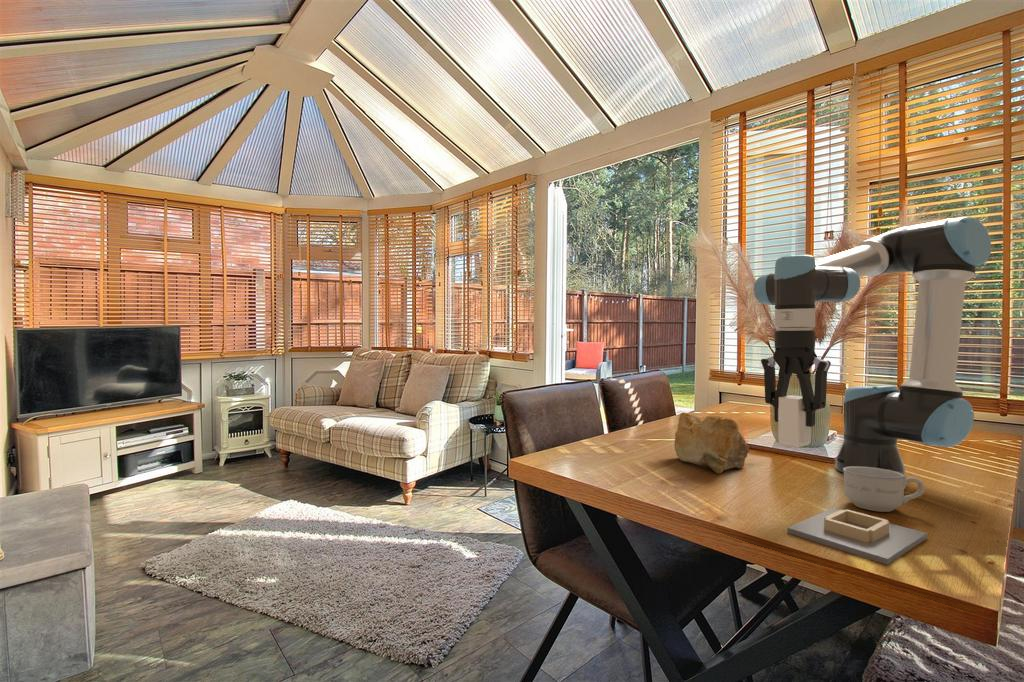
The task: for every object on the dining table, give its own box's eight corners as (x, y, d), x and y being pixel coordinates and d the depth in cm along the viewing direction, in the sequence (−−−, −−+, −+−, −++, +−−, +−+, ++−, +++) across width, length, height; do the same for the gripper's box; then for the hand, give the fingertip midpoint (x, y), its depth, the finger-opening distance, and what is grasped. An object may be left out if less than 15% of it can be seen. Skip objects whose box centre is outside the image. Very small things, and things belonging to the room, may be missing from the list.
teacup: (836, 507, 110) (837, 470, 110) (849, 495, 117) (849, 461, 117) (919, 525, 100) (919, 484, 100) (927, 511, 108) (927, 473, 107)
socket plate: (831, 512, 107) (832, 498, 106) (927, 538, 93) (927, 522, 93) (787, 532, 96) (787, 517, 96) (887, 564, 83) (887, 546, 83)
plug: (790, 440, 112) (790, 395, 112) (809, 444, 109) (809, 397, 108) (778, 444, 109) (778, 397, 109) (797, 447, 106) (798, 399, 106)
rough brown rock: (772, 479, 133) (775, 421, 133) (715, 478, 129) (719, 419, 130) (717, 460, 156) (720, 410, 156) (668, 458, 152) (671, 408, 152)
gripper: (746, 329, 113) (746, 435, 114) (829, 329, 99) (829, 449, 100) (764, 329, 117) (764, 430, 118) (847, 329, 103) (846, 444, 104)
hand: (794, 439), depth 109 cm, fingers closed on plug, 4 cm apart
